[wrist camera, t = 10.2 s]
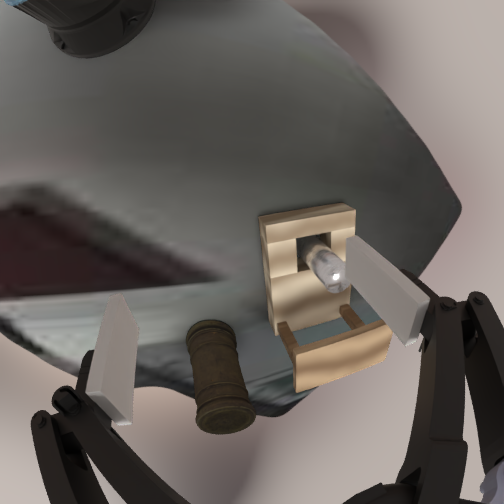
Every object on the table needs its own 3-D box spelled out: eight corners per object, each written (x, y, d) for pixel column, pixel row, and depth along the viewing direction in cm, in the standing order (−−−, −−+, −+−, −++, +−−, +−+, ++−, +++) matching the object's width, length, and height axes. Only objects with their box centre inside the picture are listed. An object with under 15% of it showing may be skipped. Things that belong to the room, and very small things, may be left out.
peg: (291, 232, 43) (326, 269, 33) (315, 228, 44) (354, 262, 33) (292, 255, 45) (324, 296, 35) (315, 250, 46) (351, 289, 35)
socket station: (254, 217, 41) (294, 270, 27) (345, 202, 43) (411, 241, 29) (266, 324, 50) (296, 392, 36) (340, 304, 52) (384, 360, 38)
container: (192, 315, 46) (202, 402, 30) (241, 323, 49) (268, 405, 33) (181, 351, 49) (187, 434, 33) (226, 358, 52) (245, 436, 36)
